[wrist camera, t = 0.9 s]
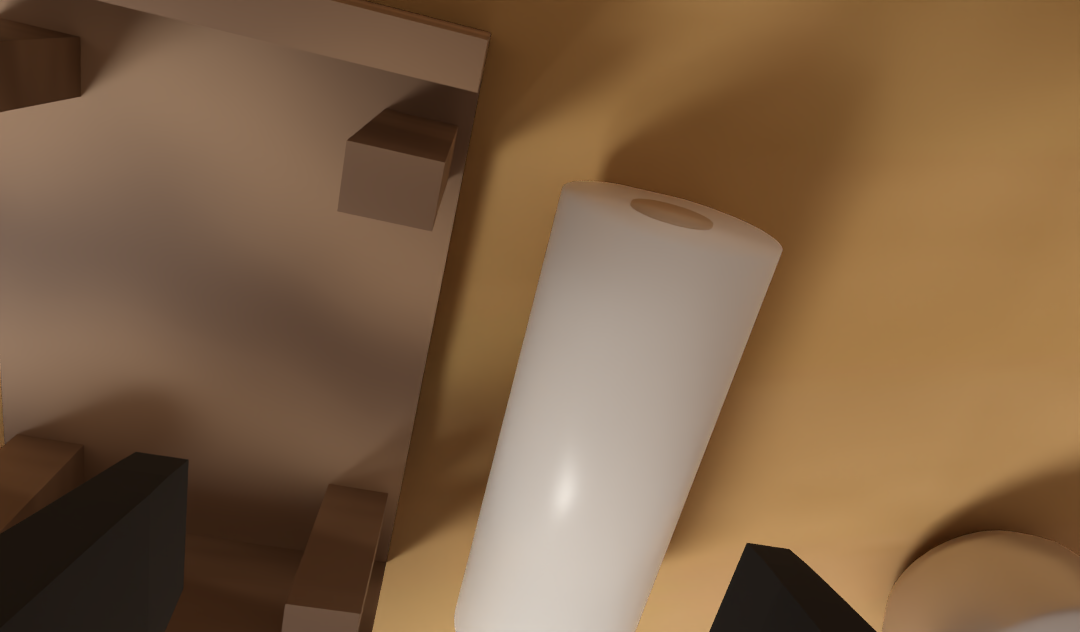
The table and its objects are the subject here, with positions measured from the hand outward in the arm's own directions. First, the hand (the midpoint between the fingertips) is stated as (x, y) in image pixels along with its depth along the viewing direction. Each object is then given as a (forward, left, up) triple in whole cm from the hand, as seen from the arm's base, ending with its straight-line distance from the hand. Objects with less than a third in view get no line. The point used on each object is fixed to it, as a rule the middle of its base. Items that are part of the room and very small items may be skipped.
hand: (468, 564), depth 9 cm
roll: (-3, -3, -10) cm, 11 cm away
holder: (-2, +6, -10) cm, 11 cm away
